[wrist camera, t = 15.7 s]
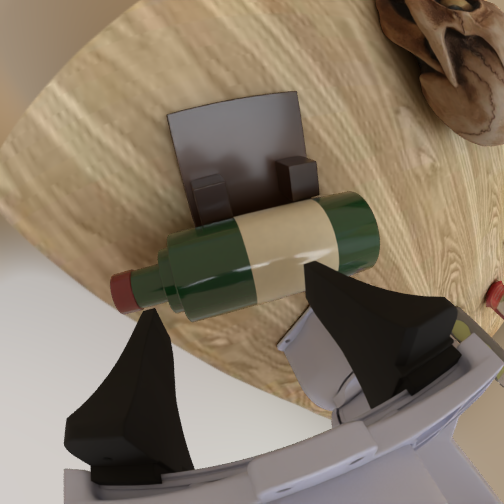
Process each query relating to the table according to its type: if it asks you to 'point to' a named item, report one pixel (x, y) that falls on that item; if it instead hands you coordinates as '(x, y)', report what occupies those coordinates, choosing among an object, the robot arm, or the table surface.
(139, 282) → the wine bottle
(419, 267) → the table surface
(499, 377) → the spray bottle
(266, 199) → the wine rack
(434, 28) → the skull
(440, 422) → the robot arm
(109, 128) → the table surface
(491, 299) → the liquor
